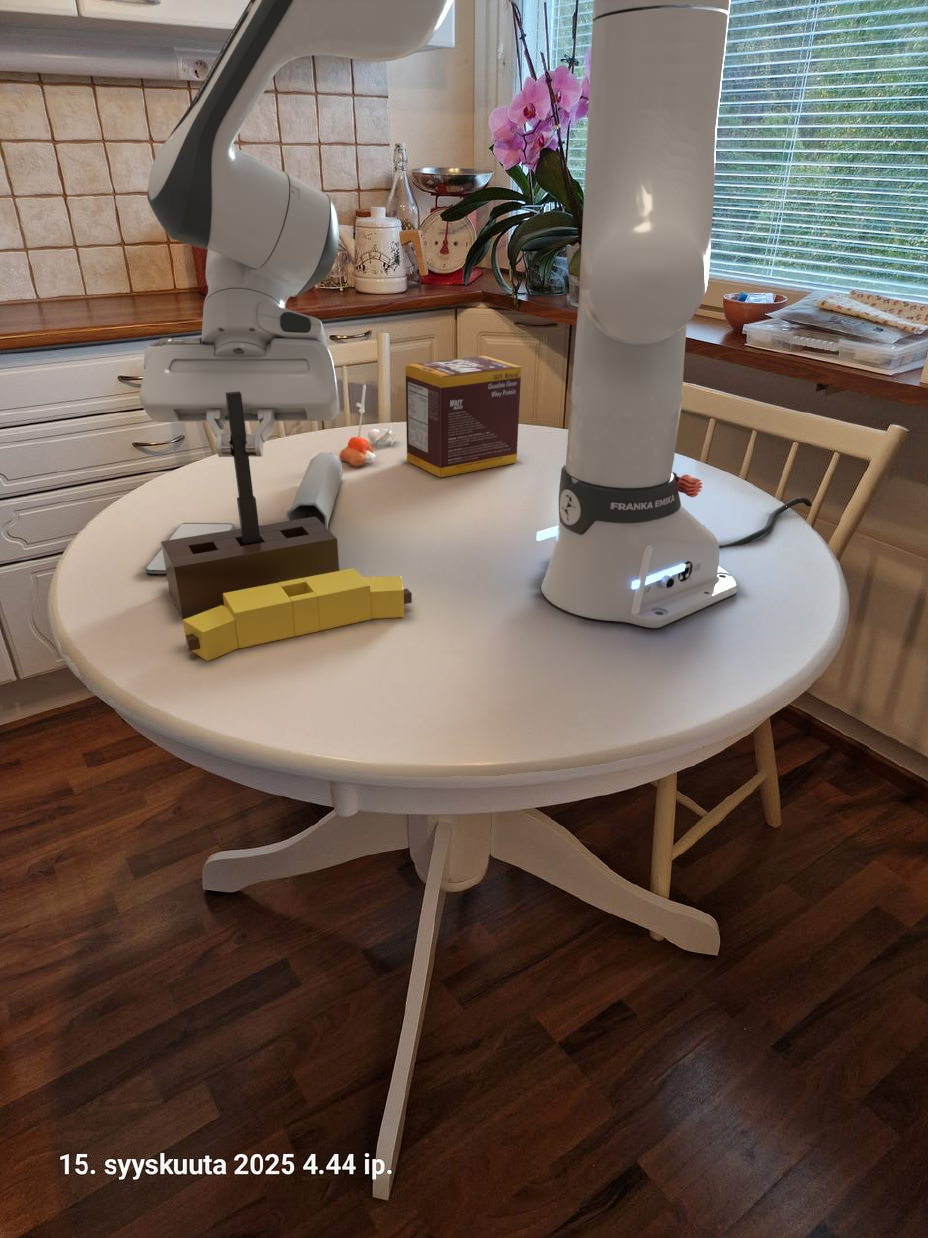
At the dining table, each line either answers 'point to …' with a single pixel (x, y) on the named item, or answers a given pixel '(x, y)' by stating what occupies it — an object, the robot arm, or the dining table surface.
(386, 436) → the white bird figurine
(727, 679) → the dining table surface
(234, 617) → the banana
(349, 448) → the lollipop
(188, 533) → the smartphone
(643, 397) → the robot arm
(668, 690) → the dining table surface
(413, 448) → the supplement box
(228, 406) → the dark grey stepped rod
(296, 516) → the tube
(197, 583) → the cutlery block
